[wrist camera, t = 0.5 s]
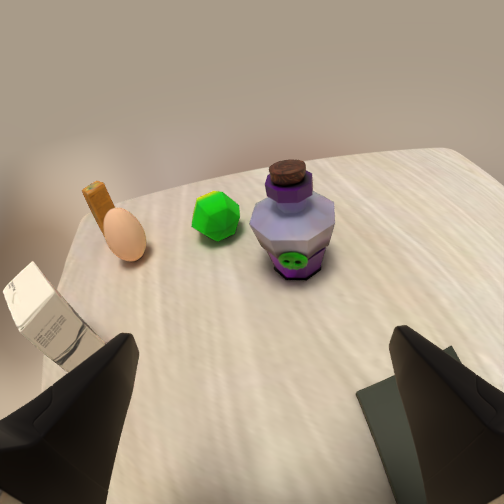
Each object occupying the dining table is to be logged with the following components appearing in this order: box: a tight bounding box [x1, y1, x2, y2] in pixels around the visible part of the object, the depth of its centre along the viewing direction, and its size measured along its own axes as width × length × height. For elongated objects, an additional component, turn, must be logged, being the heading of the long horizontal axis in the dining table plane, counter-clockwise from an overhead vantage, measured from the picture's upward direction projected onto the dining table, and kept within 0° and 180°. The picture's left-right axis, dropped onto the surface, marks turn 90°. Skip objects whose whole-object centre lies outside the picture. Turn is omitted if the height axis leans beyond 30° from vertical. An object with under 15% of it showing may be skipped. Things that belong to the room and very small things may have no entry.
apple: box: [191, 191, 240, 242], centre depth 37 cm, size 7×6×9 cm
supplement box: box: [82, 181, 115, 237], centre depth 39 cm, size 3×3×10 cm
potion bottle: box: [249, 160, 335, 280], centre depth 28 cm, size 9×9×12 cm
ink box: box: [3, 261, 105, 373], centre depth 23 cm, size 8×5×12 cm, turn 57°
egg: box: [104, 208, 146, 261], centre depth 35 cm, size 5×5×8 cm
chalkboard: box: [356, 346, 462, 504], centre depth 14 cm, size 18×10×1 cm, turn 12°
